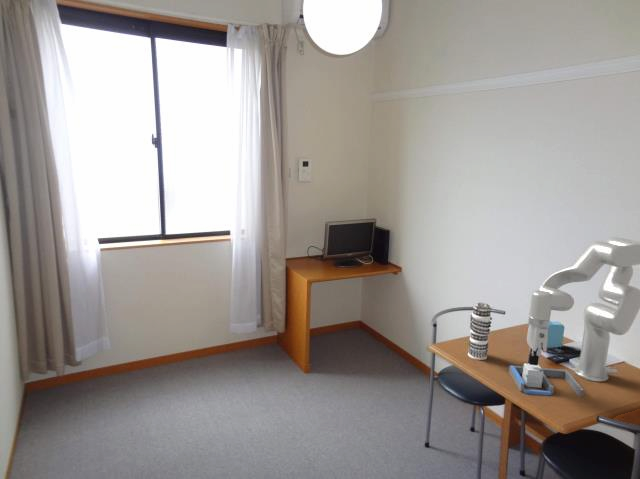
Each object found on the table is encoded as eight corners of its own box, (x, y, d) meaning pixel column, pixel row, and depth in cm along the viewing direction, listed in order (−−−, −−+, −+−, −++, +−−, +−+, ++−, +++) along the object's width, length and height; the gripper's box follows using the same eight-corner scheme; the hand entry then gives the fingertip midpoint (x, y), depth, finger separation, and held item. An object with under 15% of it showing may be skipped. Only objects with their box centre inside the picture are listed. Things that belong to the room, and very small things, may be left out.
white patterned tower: (473, 349, 212) (477, 299, 207) (491, 356, 206) (496, 305, 201) (463, 354, 206) (467, 303, 201) (481, 362, 200) (487, 309, 195)
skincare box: (521, 379, 185) (523, 363, 184) (536, 380, 184) (538, 364, 183) (526, 386, 179) (528, 369, 178) (541, 388, 179) (544, 371, 177)
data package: (557, 344, 221) (560, 321, 218) (561, 348, 216) (565, 324, 214) (533, 343, 221) (535, 320, 219) (537, 347, 217) (540, 324, 214)
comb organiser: (566, 376, 188) (567, 368, 187) (583, 398, 172) (585, 389, 171) (508, 371, 191) (509, 364, 190) (520, 392, 175) (521, 384, 174)
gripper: (555, 329, 169) (549, 373, 172) (542, 315, 183) (536, 356, 187) (535, 327, 170) (529, 371, 173) (523, 314, 184) (517, 355, 188)
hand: (532, 364), depth 180 cm, fingers closed
